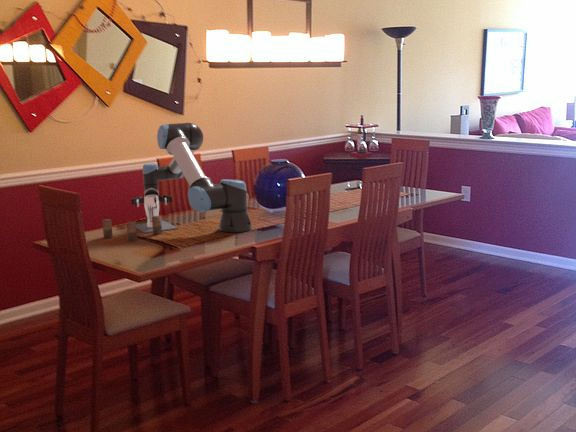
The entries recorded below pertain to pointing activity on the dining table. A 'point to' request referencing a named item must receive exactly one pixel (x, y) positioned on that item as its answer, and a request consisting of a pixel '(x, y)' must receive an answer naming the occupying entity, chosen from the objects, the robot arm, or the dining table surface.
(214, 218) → the dining table surface
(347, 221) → the dining table surface
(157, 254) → the dining table surface
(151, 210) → the beer glass
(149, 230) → the slate mat
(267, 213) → the dining table surface
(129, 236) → the walnut spacer posts
